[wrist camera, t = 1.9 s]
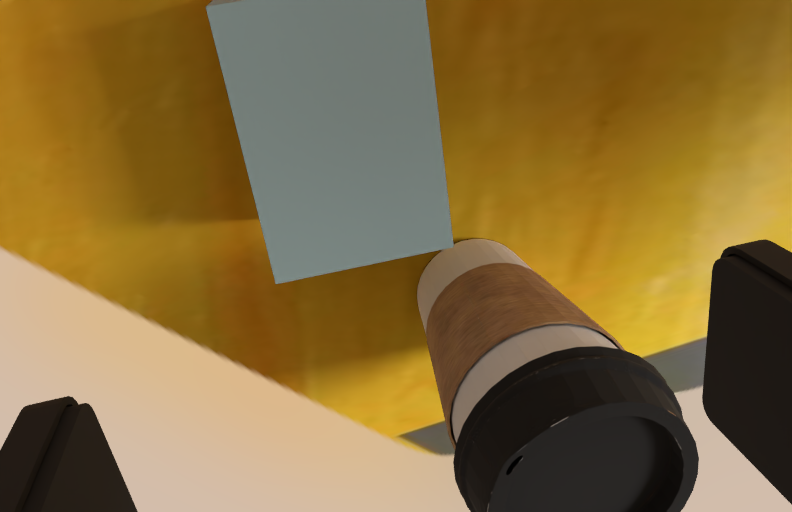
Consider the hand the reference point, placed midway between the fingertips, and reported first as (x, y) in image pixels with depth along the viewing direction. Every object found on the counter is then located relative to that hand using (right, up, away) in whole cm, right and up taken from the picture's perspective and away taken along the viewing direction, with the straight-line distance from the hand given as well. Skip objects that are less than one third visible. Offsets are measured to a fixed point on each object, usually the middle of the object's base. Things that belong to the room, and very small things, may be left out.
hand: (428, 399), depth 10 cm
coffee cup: (+3, 0, +25) cm, 25 cm away
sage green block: (-4, +9, +20) cm, 22 cm away
